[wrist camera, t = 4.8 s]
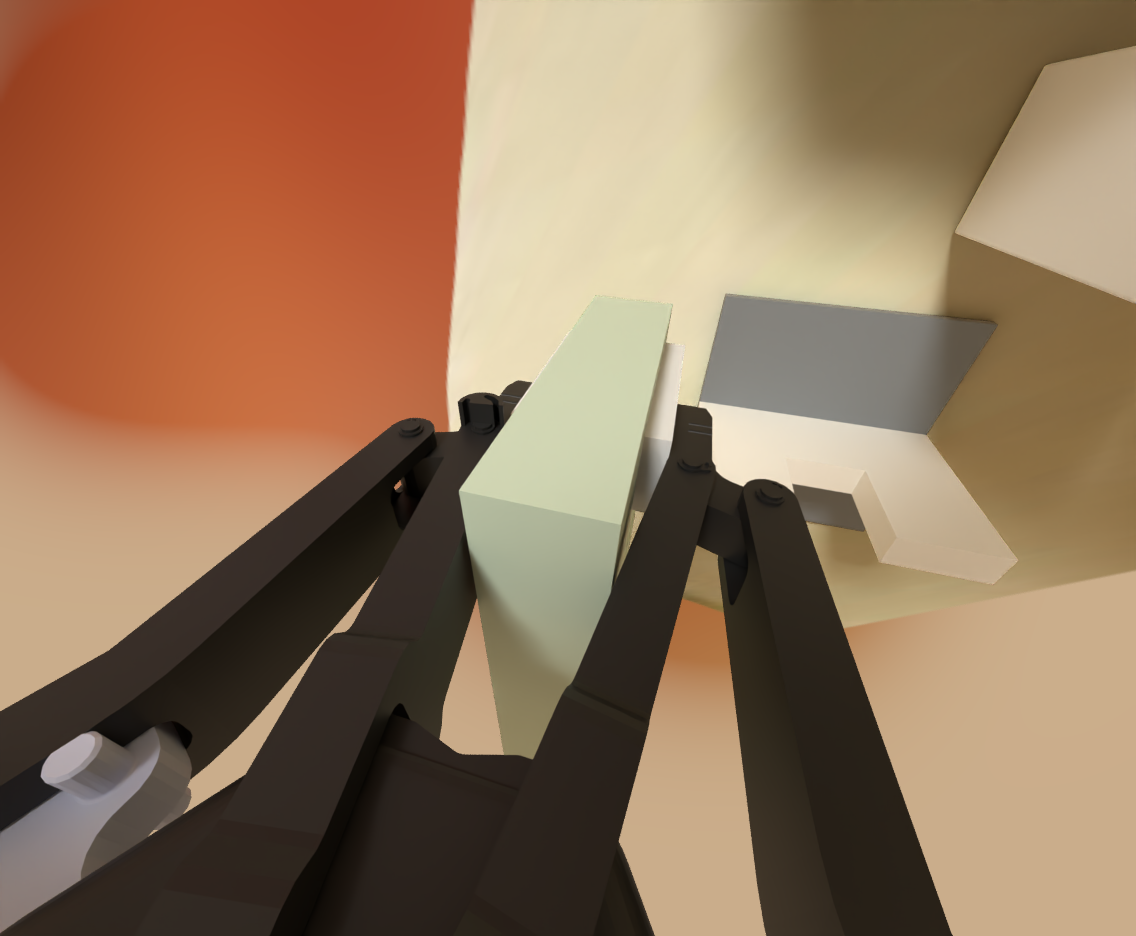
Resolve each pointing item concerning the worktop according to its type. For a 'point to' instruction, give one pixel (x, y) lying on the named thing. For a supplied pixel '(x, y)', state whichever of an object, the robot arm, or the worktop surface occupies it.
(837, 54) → the worktop surface
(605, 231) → the worktop surface
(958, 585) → the worktop surface
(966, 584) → the worktop surface
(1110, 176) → the milk carton
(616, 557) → the pale green tall block
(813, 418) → the notched wall on base
